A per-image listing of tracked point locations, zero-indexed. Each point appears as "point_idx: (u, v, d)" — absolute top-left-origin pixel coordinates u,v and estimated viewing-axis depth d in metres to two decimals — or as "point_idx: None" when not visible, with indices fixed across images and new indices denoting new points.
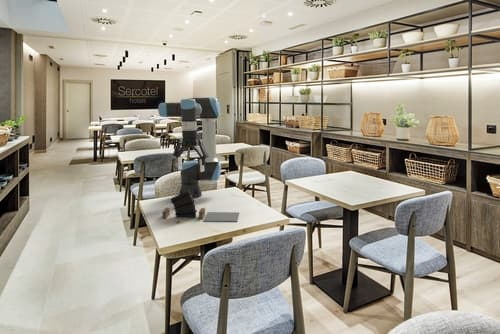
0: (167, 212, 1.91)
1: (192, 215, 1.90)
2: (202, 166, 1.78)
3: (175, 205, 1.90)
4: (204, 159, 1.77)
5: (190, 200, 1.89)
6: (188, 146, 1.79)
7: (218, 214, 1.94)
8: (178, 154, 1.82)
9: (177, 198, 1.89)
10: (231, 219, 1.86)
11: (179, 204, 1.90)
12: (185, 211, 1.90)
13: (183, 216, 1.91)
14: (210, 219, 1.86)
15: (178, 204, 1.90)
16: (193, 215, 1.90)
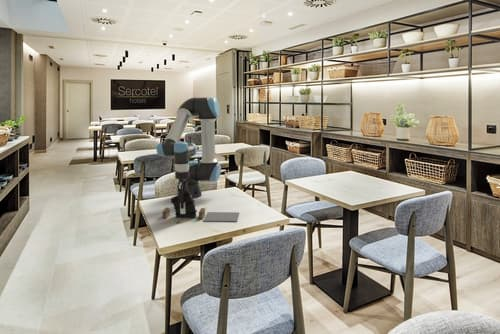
0: (167, 212, 1.91)
1: (192, 215, 1.90)
2: (182, 209, 1.89)
3: (175, 205, 1.90)
4: (181, 203, 1.87)
5: (190, 200, 1.89)
6: None
7: (218, 214, 1.94)
8: None
9: (177, 198, 1.89)
10: (231, 219, 1.86)
11: (179, 204, 1.90)
12: (185, 211, 1.90)
13: (183, 216, 1.91)
14: (210, 219, 1.86)
15: (178, 204, 1.90)
16: (193, 215, 1.90)
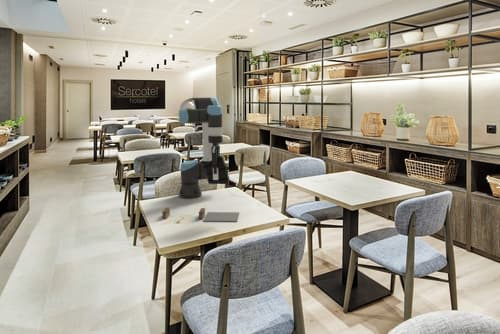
0: (167, 212, 1.91)
1: (225, 181, 1.85)
2: (214, 174, 1.84)
3: (208, 171, 1.85)
4: (214, 168, 1.82)
5: (223, 165, 1.84)
6: None
7: (218, 214, 1.94)
8: None
9: (210, 163, 1.84)
10: (231, 219, 1.86)
11: (212, 170, 1.85)
12: (218, 177, 1.85)
13: (216, 182, 1.86)
14: (210, 219, 1.86)
15: (210, 169, 1.85)
16: (226, 181, 1.85)
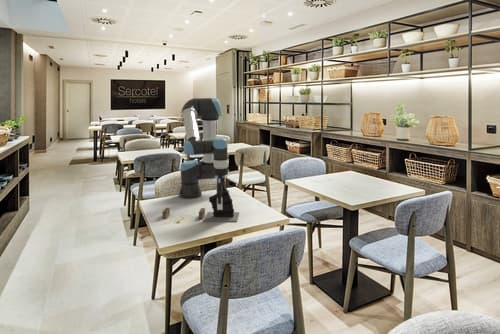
0: (167, 212, 1.91)
1: (230, 214, 1.89)
2: (219, 204, 1.83)
3: (213, 204, 1.88)
4: (219, 198, 1.81)
5: (229, 199, 1.87)
6: None
7: None
8: None
9: (215, 197, 1.87)
10: (231, 219, 1.86)
11: None
12: (223, 210, 1.89)
13: (221, 215, 1.90)
14: (210, 219, 1.86)
15: (216, 203, 1.88)
16: (231, 214, 1.89)
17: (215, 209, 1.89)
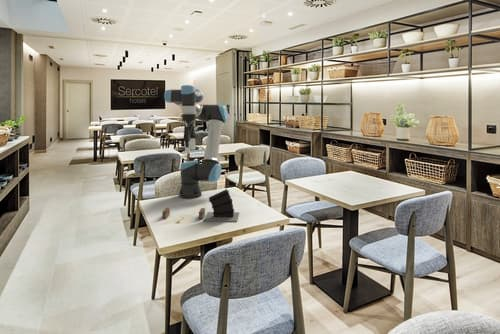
0: (167, 212, 1.91)
1: (230, 214, 1.89)
2: (186, 148, 1.91)
3: (213, 204, 1.89)
4: (186, 141, 1.89)
5: (229, 199, 1.88)
6: None
7: None
8: (190, 135, 2.03)
9: (215, 197, 1.88)
10: (231, 219, 1.86)
11: (217, 203, 1.88)
12: (223, 210, 1.89)
13: (221, 215, 1.90)
14: (210, 219, 1.86)
15: (216, 203, 1.88)
16: (231, 214, 1.89)
17: (215, 209, 1.89)
